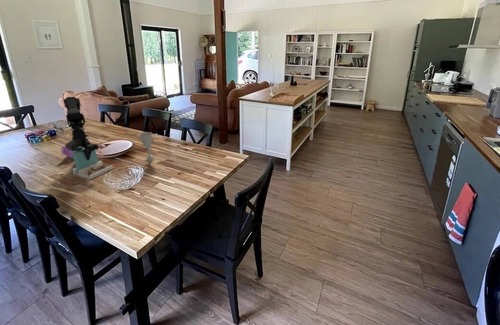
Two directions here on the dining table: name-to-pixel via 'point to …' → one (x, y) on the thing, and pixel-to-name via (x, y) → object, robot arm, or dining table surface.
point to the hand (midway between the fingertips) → (86, 159)
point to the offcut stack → (96, 169)
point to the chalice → (147, 143)
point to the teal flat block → (84, 159)
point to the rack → (85, 170)
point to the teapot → (68, 151)
